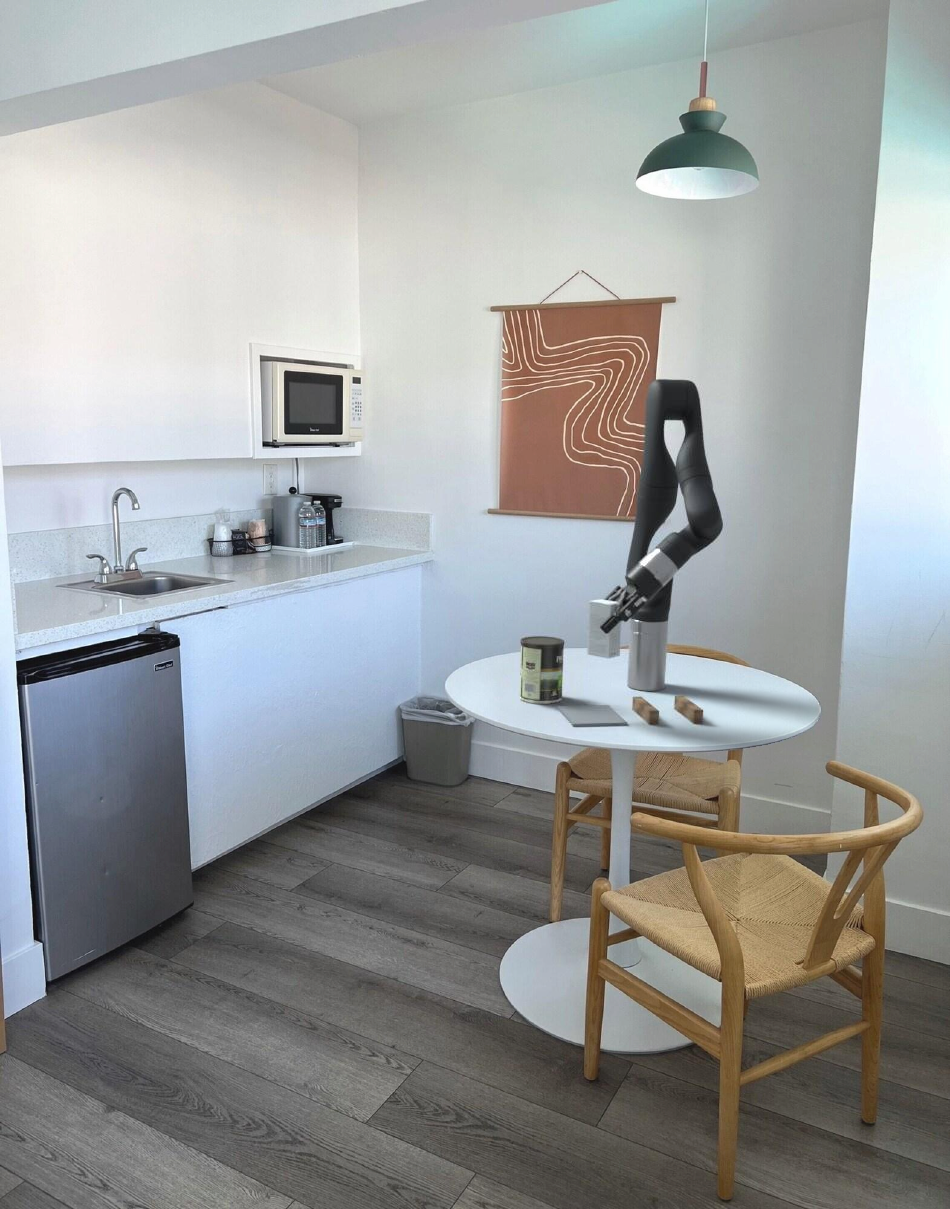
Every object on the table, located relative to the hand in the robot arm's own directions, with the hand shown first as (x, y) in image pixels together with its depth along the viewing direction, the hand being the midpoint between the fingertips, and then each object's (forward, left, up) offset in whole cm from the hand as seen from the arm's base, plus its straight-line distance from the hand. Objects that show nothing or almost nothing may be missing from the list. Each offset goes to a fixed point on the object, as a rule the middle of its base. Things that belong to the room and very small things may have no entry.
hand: (597, 627), depth 205 cm
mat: (0, 0, -20) cm, 20 cm away
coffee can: (-16, -8, -20) cm, 28 cm away
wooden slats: (+1, +17, -20) cm, 26 cm away
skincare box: (0, +2, -6) cm, 7 cm away
